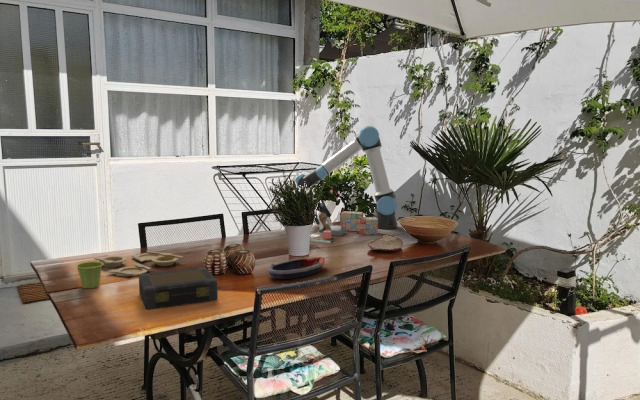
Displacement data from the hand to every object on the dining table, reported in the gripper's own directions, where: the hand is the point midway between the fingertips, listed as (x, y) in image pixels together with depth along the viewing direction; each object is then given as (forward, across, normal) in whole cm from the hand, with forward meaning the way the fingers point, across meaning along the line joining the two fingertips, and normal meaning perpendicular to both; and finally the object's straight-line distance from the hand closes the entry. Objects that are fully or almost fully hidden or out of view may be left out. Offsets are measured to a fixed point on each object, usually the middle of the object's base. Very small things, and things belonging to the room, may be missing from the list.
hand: (327, 227), depth 289 cm
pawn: (0, +1, -4) cm, 4 cm away
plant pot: (+17, +134, +14) cm, 135 cm away
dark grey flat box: (+39, +111, +35) cm, 123 cm away
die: (+10, +9, +6) cm, 15 cm away
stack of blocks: (+8, -20, +1) cm, 21 cm away
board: (+7, +6, +1) cm, 9 cm away
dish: (+40, +58, +35) cm, 79 cm away
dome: (+6, -1, +3) cm, 7 cm away
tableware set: (+3, +108, -1) cm, 108 cm away
